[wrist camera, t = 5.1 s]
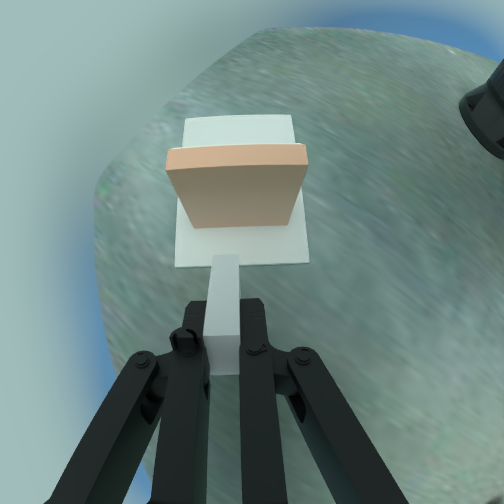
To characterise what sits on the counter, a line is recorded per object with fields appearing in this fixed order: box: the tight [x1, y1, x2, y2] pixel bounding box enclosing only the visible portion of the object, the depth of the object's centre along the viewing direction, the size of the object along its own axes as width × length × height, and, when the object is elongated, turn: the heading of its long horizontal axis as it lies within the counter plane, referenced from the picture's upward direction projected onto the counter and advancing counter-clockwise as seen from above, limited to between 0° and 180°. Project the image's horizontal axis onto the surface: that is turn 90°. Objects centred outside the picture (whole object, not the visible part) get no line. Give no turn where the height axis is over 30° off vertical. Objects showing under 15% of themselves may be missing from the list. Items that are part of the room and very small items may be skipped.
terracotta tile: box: [166, 143, 308, 229], centre depth 25 cm, size 2×10×12 cm, turn 92°
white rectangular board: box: [175, 115, 309, 268], centre depth 33 cm, size 20×14×1 cm
